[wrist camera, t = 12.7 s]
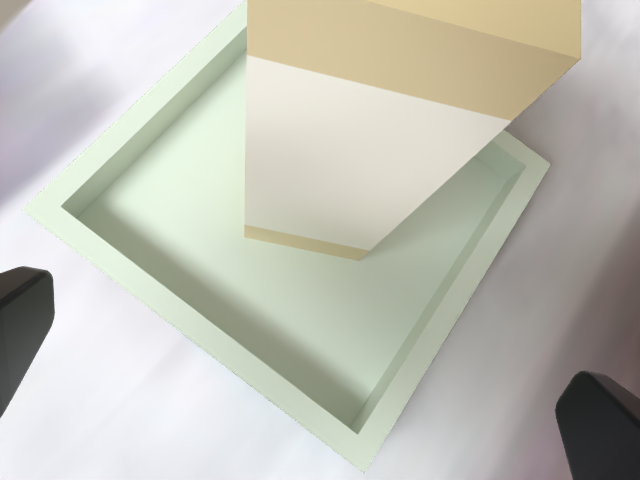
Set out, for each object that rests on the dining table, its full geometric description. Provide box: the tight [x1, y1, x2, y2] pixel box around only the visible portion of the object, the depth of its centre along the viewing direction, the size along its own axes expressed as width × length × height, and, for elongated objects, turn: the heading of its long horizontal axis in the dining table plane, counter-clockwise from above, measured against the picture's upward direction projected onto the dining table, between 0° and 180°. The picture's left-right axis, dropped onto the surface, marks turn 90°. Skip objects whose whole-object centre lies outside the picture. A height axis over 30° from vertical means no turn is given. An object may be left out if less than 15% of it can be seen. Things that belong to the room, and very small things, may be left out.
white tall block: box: [244, 0, 581, 261], centre depth 12 cm, size 4×4×12 cm
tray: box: [22, 0, 551, 474], centre depth 17 cm, size 14×14×2 cm
